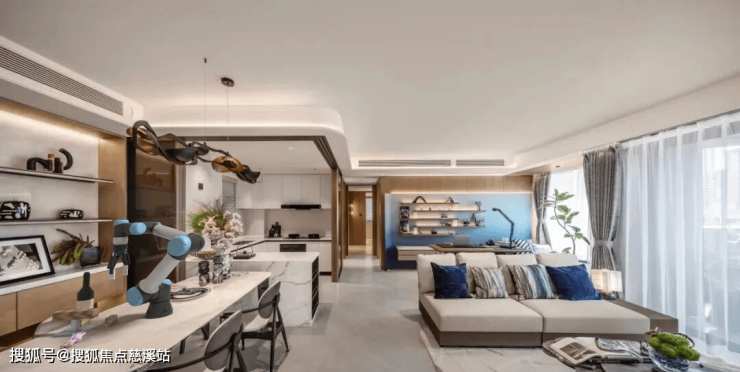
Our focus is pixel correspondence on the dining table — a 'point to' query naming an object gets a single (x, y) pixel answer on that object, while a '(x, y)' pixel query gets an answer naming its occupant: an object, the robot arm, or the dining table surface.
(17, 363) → the dining table surface
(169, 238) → the robot arm
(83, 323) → the board
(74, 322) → the fulcrum
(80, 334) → the rabbit figure
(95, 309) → the walnut beam
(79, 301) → the wine bottle
